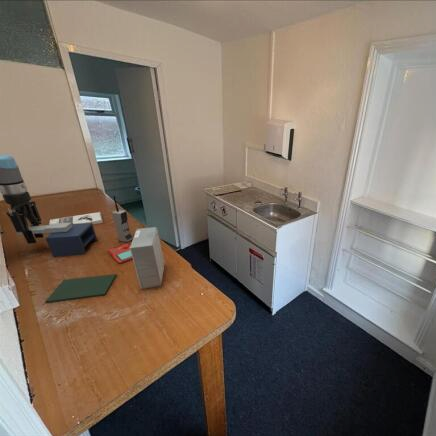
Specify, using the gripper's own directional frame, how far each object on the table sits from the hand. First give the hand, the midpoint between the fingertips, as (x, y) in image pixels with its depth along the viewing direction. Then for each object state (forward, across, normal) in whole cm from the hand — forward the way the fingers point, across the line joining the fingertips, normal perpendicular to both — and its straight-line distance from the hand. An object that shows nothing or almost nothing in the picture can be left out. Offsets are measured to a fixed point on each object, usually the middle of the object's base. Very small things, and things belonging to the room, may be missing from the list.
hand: (36, 240), depth 108 cm
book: (+6, +30, -2) cm, 31 cm away
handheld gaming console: (+6, -10, -37) cm, 39 cm away
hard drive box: (+6, -31, -54) cm, 62 cm away
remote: (-4, 0, -5) cm, 7 cm away
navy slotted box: (+6, 0, -14) cm, 15 cm away
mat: (+6, -33, -30) cm, 45 cm away
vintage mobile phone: (+6, +4, -34) cm, 35 cm away
